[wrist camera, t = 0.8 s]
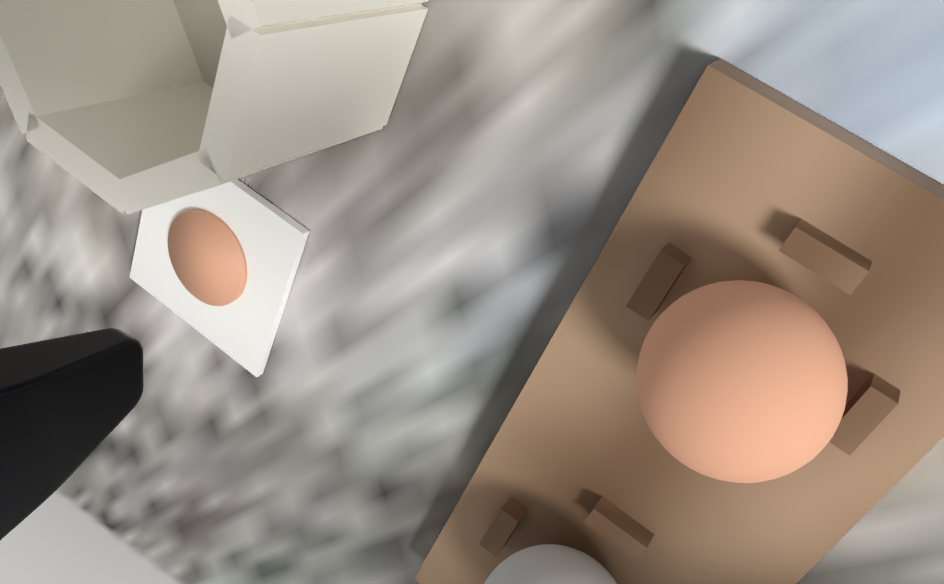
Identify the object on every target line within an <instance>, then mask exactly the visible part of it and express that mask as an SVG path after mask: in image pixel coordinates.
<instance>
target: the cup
mask: <svg viewBox="0 0 944 584" xmlns="http://www.w3.org/2000/svg"><path fill="white" fill-rule="evenodd" d="M425 2H428V0H0V85H1V88H2V90H3V92H4V95H5V97H6V99H7V101H8V104H9V106H10V108H11V111H12V113H13V115H14V118H15V120H16V122H17V124H18V127H19V129H20V131H21V134H22V135H23V134H27V135H26V141H28V142H29V143H30V144H32V145H33V146H34V147H36V148H37V149H38V150H39V151H41V152H42V153H43V154H45V155H46V156H47V157H49V158H50V159H51V160H53V161H54V162H55V163H57V164H58V165H59V166H60V167H62V168H63V169H64V170H66V171H67V172H68V173H70V174H71V175H72V176H74V177H75V178H76V179H77V180H79V181H80V182H81V183H83V184H84V185H85V186H87V187H88V188H89V189H91V190H92V191H93V192H94V193H96V194H97V195H98V196H100V197H101V198H102V199H104V200H105V201H106V202H108V203H109V204H110V205H111V206H113V207H114V208H115V209H117V210H118V211H119V212H121V213H124V212H126V214H127V215H128V214H131V213H134V212H137V211H140V210H143V209H146V208H150V207H153V206H156V205H159V204H162V203H165V202H168V201H172V200H175V199H178V198H181V197H184V196H187V195H190V194H193V193H197V192H200V191H203V190H206V189H209V188H212V187H215V186H219V185H222V184H225V183H227V182H230V181H233V180H236V179H239V178H242V177H245V176H248V175H251V174H253V173H256V172H259V171H262V170H265V169H268V168H271V167H274V166H277V165H279V164H282V163H285V162H288V161H291V160H294V159H297V158H300V157H303V156H305V155H308V154H311V153H314V152H317V151H320V150H323V149H326V148H329V147H331V146H334V145H337V144H340V143H343V142H346V141H349V140H352V139H355V138H357V137H360V136H363V135H366V134H369V133H372V132H375V131H378V130H381V129H383V127H382V126H385V125H387V122H388V120H389V117H390V114H391V111H392V109H393V106H394V103H395V100H396V97H397V95H398V92H399V89H400V86H401V83H402V81H403V78H404V75H405V72H406V70H407V67H408V64H409V61H410V58H411V56H412V53H413V50H414V47H415V44H416V42H417V39H418V36H419V33H420V31H421V28H422V25H423V22H424V19H425V17H426V14H427V11H428V8H427V7H425V6H424V5H422V4H423V3H425Z"/></svg>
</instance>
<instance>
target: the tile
mask: <svg viewBox="0 0 944 584" xmlns="http://www.w3.org/2000/svg"><path fill="white" fill-rule="evenodd" d="M309 232H310V231H309V230H308V229H306V228H305V227H304V226H302V225H301V224H299V223H298V222H297V221H295V220H294V219H292V218H291V217H290V216H288V215H287V214H285V213H284V212H283V211H281V210H280V209H278V208H277V207H276V206H274V205H273V204H272V203H270V202H269V201H267V200H266V199H265V198H263V197H262V196H260V195H259V194H258V193H256V192H255V191H253V190H252V189H251V188H249V187H248V186H246V185H245V184H244V183H242V182H241V181H239V180H238V179H236V180H233V181H230V182H227V183H225V184H222V185H219V186H215V187H212V188H209V189H206V190H203V191H200V192H197V193H193V194H190V195H187V196H184V197H181V198H178V199H175V200H172V201H168V202H165V203H162V204H159V205H156V206H153V207H150V208H146V209H143V210H142V215H141V220H140V225H139V230H138V236H137V241H136V246H135V251H134V257H133V262H132V267H131V272H130V278H131V279H132V280H134V281H135V282H136V283H137V284H139V285H140V286H141V287H142V288H144V289H145V290H146V291H148V292H149V293H150V294H151V295H153V296H154V297H155V298H156V299H158V300H159V301H160V302H162V303H163V304H164V305H165V306H167V307H168V308H169V309H170V310H172V311H173V312H174V313H176V314H177V315H178V316H179V317H181V318H182V319H183V320H184V321H186V322H187V323H188V324H190V325H191V326H192V327H193V328H195V329H196V330H197V331H198V332H200V333H201V334H202V335H203V336H205V337H206V338H207V339H209V340H210V341H211V342H212V343H214V344H215V345H216V346H217V347H219V348H220V349H221V350H223V351H224V352H225V353H226V354H228V355H229V356H230V357H231V358H233V359H234V360H235V361H237V362H238V363H239V364H240V365H242V366H243V367H244V368H245V369H247V370H248V371H249V372H251V373H252V374H253V375H254V376H256V377H258V376H260V375H261V374H263V372H264V369H265V366H266V363H267V360H268V357H269V353H270V350H271V347H272V344H273V341H274V338H275V335H276V332H277V329H278V326H279V323H280V320H281V317H282V314H283V311H284V308H285V305H286V302H287V299H288V296H289V293H290V289H291V286H292V283H293V280H294V277H295V274H296V271H297V268H298V265H299V262H300V259H301V256H302V253H303V250H304V247H305V244H306V241H307V238H308V235H309Z"/></svg>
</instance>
